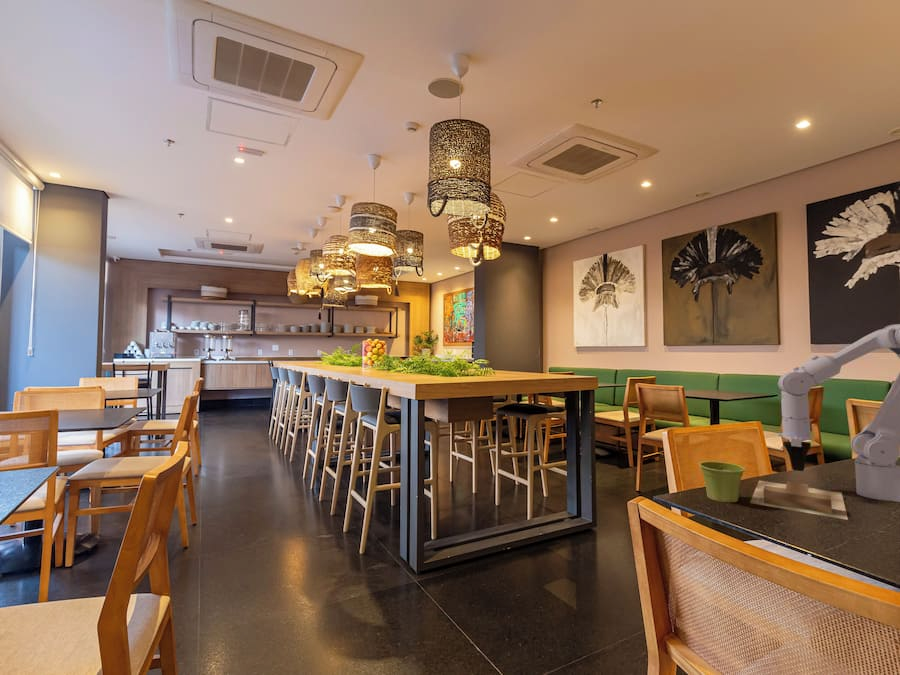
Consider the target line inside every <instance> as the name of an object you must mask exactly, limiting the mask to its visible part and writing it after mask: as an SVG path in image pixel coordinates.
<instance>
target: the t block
mask: <svg viewBox="0 0 900 675" xmlns="http://www.w3.org/2000/svg"><path fill="white" fill-rule="evenodd" d="M786 484H787V485H786V489H783V488H777V487H770V486H765V487H764V503H770V504H775V505H781V506H787V507H793V508H799V509H805V510H811V511H816V512H822V513H828V514H832V505H831V496H830V495H823V494H817V493H810V492H808V488H809V485H808V483H801V482H793V481H792V482H791V481H786Z"/></svg>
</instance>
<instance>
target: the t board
mask: <svg viewBox="0 0 900 675" xmlns="http://www.w3.org/2000/svg"><path fill="white" fill-rule="evenodd" d="M786 485H787V483H779V482H773V481H764V480H758V483H757V484H756V487H755V489H754V492H753V494H752V497H751V498H750V502H749V504H754V505H760V506H766V507H771V508H778V509H783V510H788V511H795V512H798V513H799V512H800V513H806V514H812V515H818V516H824V517H827V518H833V519H841V520H846V521H848V520H849V519H848V514H847V509H846V506H845V501H844V497H843V493H842V491H841V492H840V491H834V490H828V489H820V488H814V487H808V492H810V493H817V494H823V495H830V496H831V505H832V514H828V513H822V512H816V511H811V510H805V509H799V508H793V507H787V506H781V505H775V504H770V503H764V487H765V486H770V487H777V488H783V489H786Z"/></svg>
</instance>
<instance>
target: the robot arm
mask: <svg viewBox="0 0 900 675" xmlns="http://www.w3.org/2000/svg"><path fill="white" fill-rule="evenodd" d="M883 349H885V350H886V349H888V350H890V351H892V352H893V353H895V354H896V356H897V357H898V359H900V323H898V324H897V323H896V324H895V323H894V324H890V325H886V326H885V327H884V328H882V329H881V328H880V329H878V330H875V331H873V332H871V333H869V334H867V335H865V336H863V337H861V338H860V339H858V340H857V341H855V342H853V343H851V344H849V345H848V346H846V347H844V348H842V349H840V350H839V351H837V352H836V353H834V354H832V355H827V354H821V355H819V356H818V355H814V356H812V357H810V361H808V362H806V363H804V364H802V365H800V366H795V367H793V368H792V370H793V371H791V372H785V373H782V375H780V377H779V379H778V382H777V386H778V388H779V389H780V390H781V394H780V396H781V400H780V401H781V402H780V403H781V407H780V408H781V421H782V425H781V426H782V432H778V433H777V435H776V436H777V437H781V438H784V439H786V441H783V443H782V445H783V446H784V448H785V449H786V452H787V454H788V457H789V460H790V465H791V468H792V470H793V471H798V472H804V470H805V466H806V459H807V455H808V453H809V451H810V449H811V447H812V446H811V442H807V441H809V440H811V441H812V439H813V437H812V435H811V421H810V420H811V419H810V402H809V394H808V393H809V392H810V391H811V389H812V387H816V386H818V385H820V384H821V383H823V382H826V381H827V380H829V379H832V378H833V377H835V376H837V375H839V374H840V373H841V369H842V366H844V365H846V364H848V363H851V362H852V361H854V360H857V359H859V358H861V357H863V356H866V355H868V354H870V353H872V352H874V351H875V350H883ZM787 440H788V441H787ZM850 446H851V449H852V452H854V453H855V454H856V457H854V465H855V466H854V467H855V484H856V485H855V487H856V488H855V490H856V491H855V492H856V494H857V495H858V496H861V497H865V498H867V499H873V500H879V501H887V502H888V501H890V502H896V503H897V502H898V503H900V465H896V463H897V461H898V460H899V458H900V372H899V373H898V374H897V377H896V378H895V380H894V382H893V383H892V385H891V387H890V389H889V391H888V393H887V394H886V396H885V398H884V400H883V402H882V404H881V405H880V406H879V409H878V411H877V413H876V414H875V416H874V418H873V420H872V421H871V422H869V423H868V424H866V425H865V426H864V427H863V429H862V430H861V431H860V432H859V433H858V434H856V435H854V436H853V437H852V439H851V441H850Z"/></svg>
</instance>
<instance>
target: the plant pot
mask: <svg viewBox="0 0 900 675" xmlns="http://www.w3.org/2000/svg"><path fill="white" fill-rule="evenodd" d="M698 466H699V467H700V469H701V471H702V473H703V477H704V484H705V490H706V497H707V498H708V499H711V500H714V501H717V502H721V503H722V502H723V503H737V502H738V501H739V496H740V495H739V494H740V487H741V482H742V481H741V479H742V477H743V475H744V474H743V473H744V472H745V471H746V468H745V467H744V466H741V465H738V464H734V463H731V462H723V461H702V462H699V465H698Z"/></svg>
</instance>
